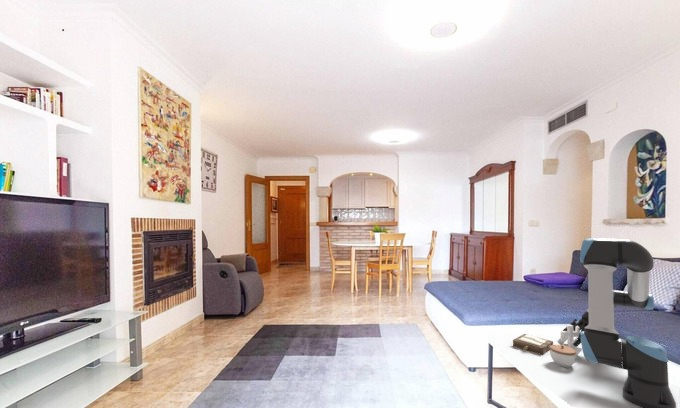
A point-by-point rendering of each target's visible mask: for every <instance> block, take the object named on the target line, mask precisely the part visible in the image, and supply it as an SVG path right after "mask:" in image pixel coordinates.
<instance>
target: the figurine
mask: <svg viewBox="0 0 680 408" xmlns="http://www.w3.org/2000/svg"><path fill="white" fill-rule="evenodd" d="M566 327H567V331H563V330H562V331H560V338H561V341H563V342H564V343H563V344H559V345H564V346H567V347H568V346H569V345H570V344H571V342H572V341H573V340H574V338H578V336H579V334H580V332H581V330H580V327H578V326H576V327H575V331H574V330H573V325H569V324H566ZM565 337H567V340H566V341H567V343H566V341H565ZM574 350H575V351H576V356H578V355H580V353H581V352H582V351H583V350H582V347H579V345H578V346H577V347H576V348H575V349H574Z"/></svg>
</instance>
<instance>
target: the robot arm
mask: <svg viewBox="0 0 680 408" xmlns="http://www.w3.org/2000/svg"><path fill="white" fill-rule="evenodd" d="M579 261H580V263H582V264H583V267H584V268H585V269H586V270H587V273H588V274H587V276H588V277H587V279H588V280H587V285H588V287H587V288H588V289H587V290H588V291H587V293H588V297H587V299H588V300H587V301H588V303H587V304H588V308H587V309H586V311H585V312H584V313H583V314H582V315H581V318H580V319H579V320H578V319H577V318H574V319H573V321H572V322H570V323H569V324H568V325H573V330H574V331H575V327H576V326H578V327H580V334H579V336H578V337H574V338H575V339H574V338H573V339H574V340H573V341H572V342H571V344H570V345H569V346H568V347H570V348H572V349H575V348H576V347H577V346H578V347H579V345H581V349H582V350H581V351H582V354H583V357H584V359H585V360H586V361H589V362H592V363H596V364H600V365H604V366H609V367H613V368H617V369H621V370H626V371H627V377H626V380H625V381H624V382H625V383H624V384H623V386H622V396H623V398H625V399H626V400H627V401H629V402H631V403H633V404H635V405H637V406H639V407H642V408H677V403H676V399H675V398H674V395H673V393H672V391H671V388H670V386H669V385H670V383H669V368H668V363H669V359H668V352H667V350H666V348H665V347H664V346H663V345H661V344H659V343H657V342H654V341H652V340H649V339H647V338H643V337H639V336H633V335H630V336H629V335H627V336H626V337H625V339H623V338H620V332H618V331H617V330H616V329H615V313H614V311H615V308H616V307H617V306H620V307H628V308H633V309H634V308H635V309H641V310H648V311H649V310H652V311H653V310H654V308H655V300H654V296H653V294H651V293H650V294H649V292H650V274H651V270H653V269H654V258H653V255H652V254H651V253H650V251H649V250H648V249H647V248H646V247H644V246H643V245H642V244H640V243H638V242H636V241H634V240H631V239H625V238H622V239H619V238H618V239H617V238H599V237H595V238H589V237H588V238H585V239H583V240H582V243H581V248H580V255H579ZM618 266H623V267H624V266H625V268H626V271H627V273H626V275H627V277H626V278H627V280H626V281H627V282H626V284H627V285H626V286H627V287H626V288H627V290H626V291H624V290H616V289H614V281H613V279H614V278H613V277H614V275H613V273H614V272H615V271H616V270H617V269H618ZM562 331H567V326H566V327H564V328H563V329H562ZM566 341H567V337H565V342H566ZM565 342H563V341H561V337H560V338H558V339H557V341H556V343H558V345H560V344H565Z"/></svg>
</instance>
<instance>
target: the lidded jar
mask: <svg viewBox="0 0 680 408" xmlns="http://www.w3.org/2000/svg"><path fill="white" fill-rule="evenodd" d="M549 352H550V357H551V360H553V362H554V363H555V364H556V365H557V366H559V367H562V368H571V366H573V365H574V364H575V363H576V359H577V357H576V356H577V355H576V351H575V350H574V349H572V348H570V347H567V346H564V345H560V344H553V345H551V346H550V350H549Z"/></svg>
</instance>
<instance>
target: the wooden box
mask: <svg viewBox="0 0 680 408" xmlns="http://www.w3.org/2000/svg"><path fill="white" fill-rule="evenodd" d="M551 345H554V341H553V340H549V339H545V338H541V337H538V336H533V335H532V334H531V335H530V334H526V333H523V334H521V335H519V336H518V337H515V338H514V339H512V347H514V348H518V349H521V350H524V351H527V352H531V353H534V354H538V355H542V356H543V355H545V354H547V353H548V352H550V346H551Z"/></svg>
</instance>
